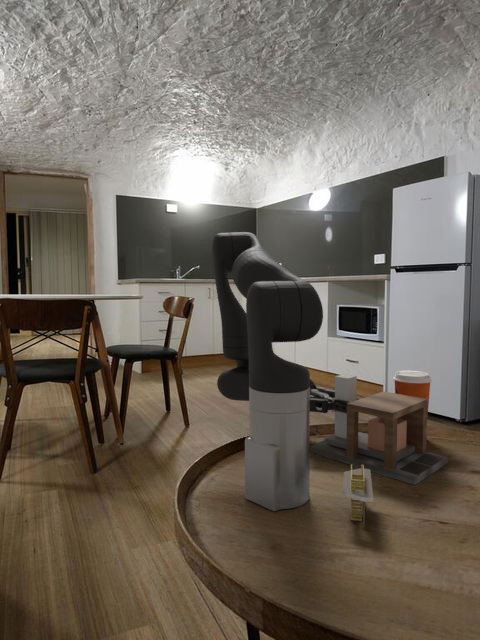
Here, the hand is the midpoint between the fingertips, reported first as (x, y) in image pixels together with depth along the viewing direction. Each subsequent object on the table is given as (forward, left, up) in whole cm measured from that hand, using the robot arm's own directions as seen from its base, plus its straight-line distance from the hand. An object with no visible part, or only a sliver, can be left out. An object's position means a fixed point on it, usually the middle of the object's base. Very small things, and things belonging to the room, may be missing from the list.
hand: (358, 406), depth 90 cm
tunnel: (0, -4, -9) cm, 10 cm away
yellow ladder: (-21, -13, -10) cm, 27 cm away
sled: (0, -2, -7) cm, 8 cm away
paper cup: (+15, -4, -9) cm, 18 cm away
